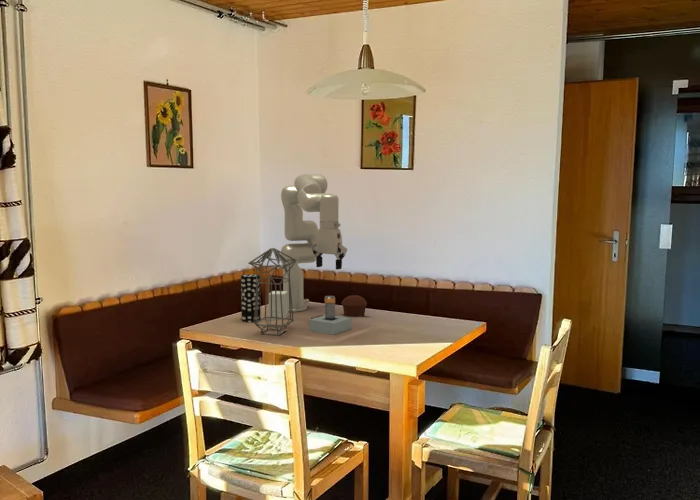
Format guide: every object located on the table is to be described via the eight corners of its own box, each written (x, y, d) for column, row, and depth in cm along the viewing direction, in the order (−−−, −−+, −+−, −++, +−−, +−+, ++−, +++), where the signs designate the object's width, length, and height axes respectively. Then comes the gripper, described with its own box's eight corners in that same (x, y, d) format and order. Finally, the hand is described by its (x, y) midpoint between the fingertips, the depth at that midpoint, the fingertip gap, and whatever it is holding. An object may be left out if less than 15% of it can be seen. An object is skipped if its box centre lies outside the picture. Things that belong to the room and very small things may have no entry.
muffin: (368, 315, 297) (368, 293, 296) (366, 320, 286) (366, 298, 285) (342, 314, 298) (342, 293, 297) (339, 320, 288) (339, 297, 286)
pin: (329, 329, 266) (328, 295, 264) (337, 330, 263) (337, 296, 262) (322, 331, 262) (322, 296, 261) (331, 332, 260) (330, 297, 259)
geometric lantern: (299, 330, 268) (298, 246, 263) (282, 340, 253) (281, 251, 248) (264, 326, 273) (264, 244, 268) (246, 336, 259) (245, 249, 254)
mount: (322, 323, 281) (322, 313, 281) (337, 325, 277) (337, 316, 276) (308, 327, 273) (308, 318, 273) (323, 329, 269) (323, 320, 268)
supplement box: (288, 318, 290) (288, 290, 288) (285, 322, 282) (285, 293, 281) (272, 318, 291) (272, 290, 289) (268, 322, 283) (268, 293, 282)
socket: (327, 328, 271) (327, 314, 270) (351, 332, 264) (351, 318, 264) (309, 334, 261) (309, 319, 261) (333, 338, 254) (333, 323, 254)
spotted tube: (259, 322, 282) (258, 277, 280) (240, 322, 282) (239, 276, 280) (262, 318, 291) (261, 274, 288) (243, 318, 291) (242, 274, 288)
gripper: (352, 226, 257) (351, 268, 259) (317, 223, 267) (317, 265, 269) (341, 227, 251) (340, 271, 253) (306, 225, 261) (306, 267, 263)
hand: (328, 267), depth 261 cm, fingers open, 9 cm apart
